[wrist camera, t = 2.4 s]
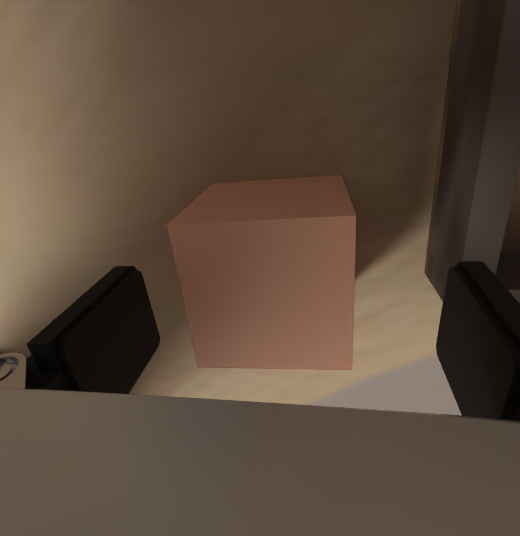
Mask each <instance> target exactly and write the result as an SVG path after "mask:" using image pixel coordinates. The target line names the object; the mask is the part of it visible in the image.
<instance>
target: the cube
mask: <svg viewBox="0 0 520 536" xmlns="http://www.w3.org/2000/svg"><path fill="white" fill-rule="evenodd" d="M167 229H168V233H169V238H170V242H171V247H172V252H173V256H174V261H175V265H176V270H177V274H178V279H179V283H180V288H181V292H182V297H183V301H184V306H185V310H186V315H187V319H188V324H189V328H190V333H191V338H192V342H193V347H194V351H195V356H196V360H197V365H198V367H208V368H260V369H312V370H352V366H353V326H354V286H355V246H356V213H355V211H354V208H353V205H352V202H351V200H350V197H349V194H348V191H347V189H346V186H345V183H344V180H343V178H342V175H330V176H316V177H301V178H286V179H271V180H257V181H242V182H227V183H212V184H211V185H210V186H209V187H208V188H207V189H206V190H205V191H204V192H202V193H201V194H200V195H199V196H198V197H197V198H196V199H195V200H194V201H193V202H191V203H190V204H189V205H188V206H187V207H186V208H185V209H184V210H183V211H181V212H180V213H179V214H178V215H177V216H176V217H175V218H174V219H173V220H171V221H170V222H169V223H168V224H167Z"/></svg>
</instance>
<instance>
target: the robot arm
mask: <svg viewBox="0 0 520 536" xmlns="http://www.w3.org/2000/svg"><path fill="white" fill-rule="evenodd" d="M159 343H160V336H159V332H158V329H157V325H156V322H155V318H154V315H153V311H152V308H151V304H150V301H149V297H148V294H147V290H146V286H145V283H144V279H143V276H142V273H141V272H140V271H139V270H137V269H136V268H135V267H134V266H116V267H114V268H113V269H112V270H111V271H110V272H108V273H107V274H106V275H105V276H104V277H103V278H102V279H100V280H99V281H98V282H97V283H96V284H95V285H94V286H92V287H91V288H90V289H89V290H88V291H87V292H86V293H84V294H83V295H82V296H81V297H80V298H79V299H78V300H76V301H75V302H74V303H73V304H72V305H71V306H70V307H68V308H67V309H66V310H65V311H64V312H63V313H62V314H60V315H59V316H58V317H57V318H56V319H55V320H54V321H52V322H51V323H50V324H49V325H48V326H47V327H45V328H44V329H43V330H42V331H41V332H40V333H39V334H37V335H36V336H35V337H34V338H33V339H32V340H31V341H29V342H28V343H27V346H28V348H29V350H30V352H31V354H32V355H31V356H30V357H28V358H27V359H26V357H25V356H24V355H23V354H21V353H15V352H13V353H5V354H2V355H0V536H520V303H519V302H518V301H517V300H516V299H515V298H514V296H513V295H512V294H511V293H510V292H509V291H508V290H507V288H506V287H505V286H504V285H503V284H502V283H501V282H500V280H499V279H498V278H497V277H496V276H495V275H494V274H493V273H492V271H491V270H490V269H489V268H488V267H487V266H486V265H485V263H484V262H482V261H464V262H458V263H457V264H456V266H455V267H450V268H449V270H448V275H447V281H446V288H445V294H444V300H443V306H442V312H441V318H440V324H439V330H438V337H437V343H436V350H437V355H438V358H439V361H440V363H441V365H442V368H443V370H444V373H445V375H446V378H447V380H448V382H449V385H450V387H451V390H452V392H453V395H454V397H455V399H456V402H457V404H458V407H459V409H460V411H461V414H462V416H459V415H448V414H434V413H433V414H432V413H419V412H404V411H389V410H373V409H359V408H344V407H329V406H314V405H297V404H281V403H265V402H249V401H234V400H218V399H201V398H184V397H168V396H152V395H136V394H129V392H130V391H131V389H132V387H133V386H134V384H135V383H136V381H137V379H138V378H139V376H140V375H141V373H142V372H143V370H144V368H145V367H146V365H147V364H148V362H149V361H150V359H151V357H152V356H153V354H154V353H155V351H156V349H157V348H158V346H159Z"/></svg>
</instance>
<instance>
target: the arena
mask: <svg viewBox="0 0 520 536" xmlns="http://www.w3.org/2000/svg"><path fill="white" fill-rule="evenodd" d="M464 261H482V262H484V263H485V265H486V266H487V267H488V268H489V269H490V270H491V271H492V273H493V274H494V275H495V276H496V277H497V278H498V279H499V280H500V282H501V283H502V284H503V285H504V286H505V287H506V288H507V290H508V291H509V292H510V293H511V294H512V295H513V296H514V298H515V299H516V300H517V301H518V302H519V303H520V0H457V6H456V15H455V23H454V31H453V40H452V48H451V56H450V65H449V73H448V81H447V89H446V98H445V106H444V114H443V123H442V131H441V139H440V148H439V156H438V164H437V173H436V181H435V189H434V197H433V206H432V214H431V222H430V231H429V239H428V247H427V256H426V264H425V274H426V276H427V277H428V279H429V280H430V282H431V284H432V285H433V287H434V288H435V290H436V291H437V293H438V295H439V296H440V298H441V299H442V301H443V300H444V294H445V288H446V281H447V275H448V270H449V268H450V267H455V266H456V264H457V263H458V262H464Z"/></svg>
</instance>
